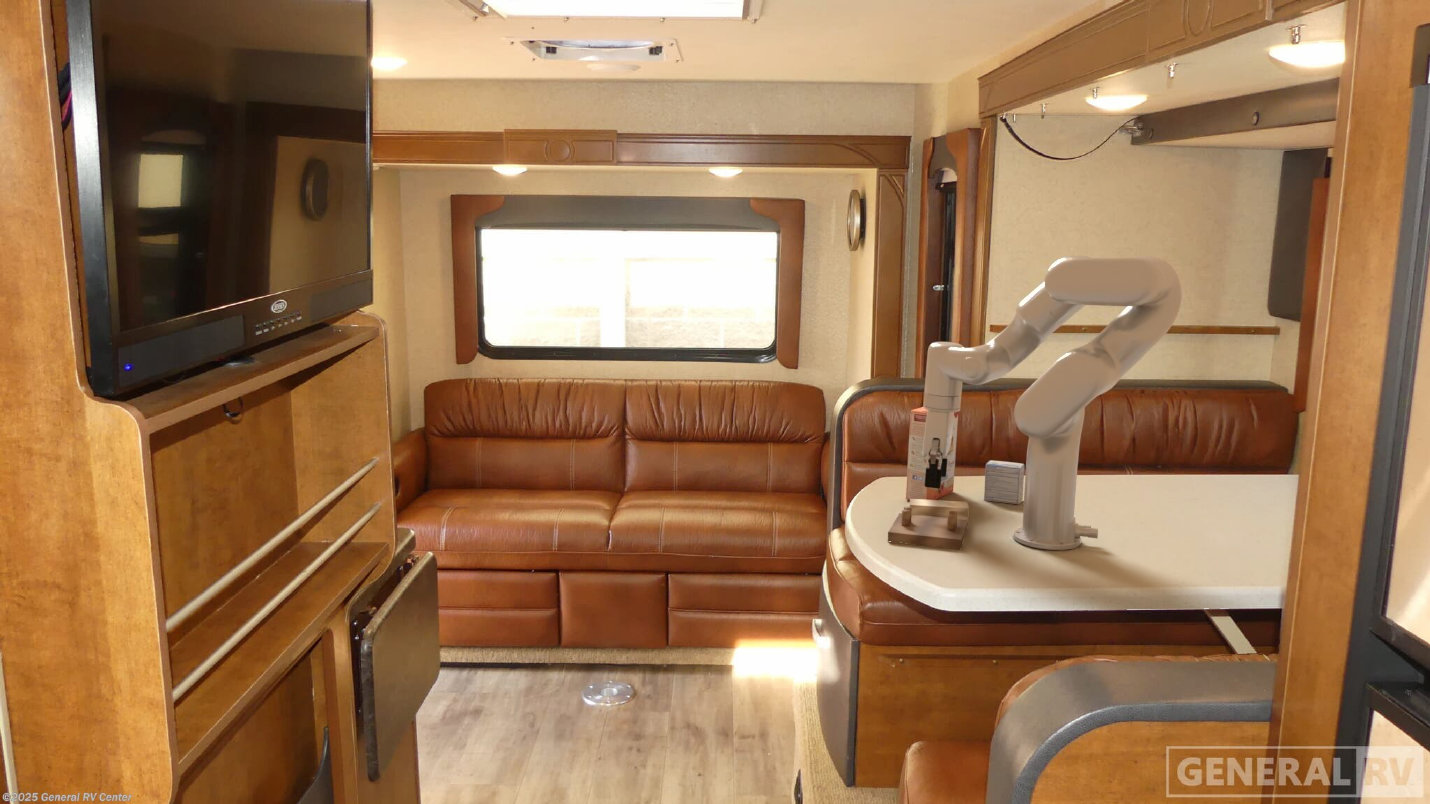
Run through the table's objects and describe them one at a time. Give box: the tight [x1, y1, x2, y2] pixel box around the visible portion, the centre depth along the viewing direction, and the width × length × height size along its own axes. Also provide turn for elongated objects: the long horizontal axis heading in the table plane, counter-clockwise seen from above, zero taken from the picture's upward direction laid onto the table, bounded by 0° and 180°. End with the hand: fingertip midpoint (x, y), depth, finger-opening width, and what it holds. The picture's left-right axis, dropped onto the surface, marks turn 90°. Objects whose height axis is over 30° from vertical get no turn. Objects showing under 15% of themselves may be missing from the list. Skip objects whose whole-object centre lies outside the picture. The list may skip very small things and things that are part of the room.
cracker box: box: [905, 406, 959, 501], centre depth 231 cm, size 14×6×21 cm, turn 143°
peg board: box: [887, 506, 969, 550], centre depth 203 cm, size 14×14×5 cm
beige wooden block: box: [909, 499, 970, 521], centre depth 213 cm, size 12×5×4 cm, turn 79°
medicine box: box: [983, 460, 1025, 505], centre depth 229 cm, size 8×4×9 cm, turn 63°
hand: (935, 481), depth 213 cm, fingers open, 9 cm apart
